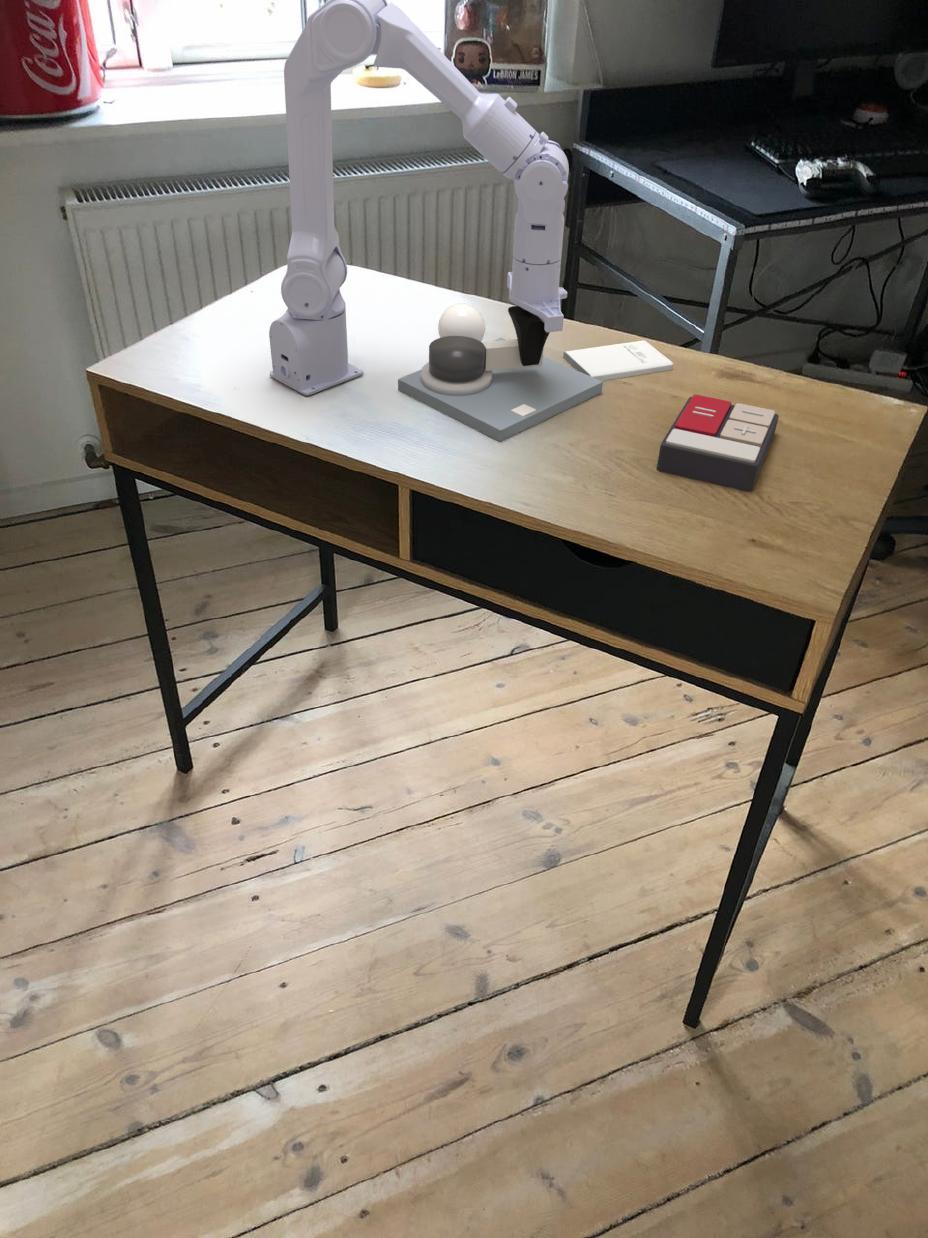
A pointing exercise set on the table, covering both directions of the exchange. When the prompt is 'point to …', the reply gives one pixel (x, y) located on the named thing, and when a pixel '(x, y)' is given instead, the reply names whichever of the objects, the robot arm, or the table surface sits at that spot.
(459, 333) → the lightbulb
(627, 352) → the external hard drive
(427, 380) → the base
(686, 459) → the calculator
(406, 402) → the table surface
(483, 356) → the cap
